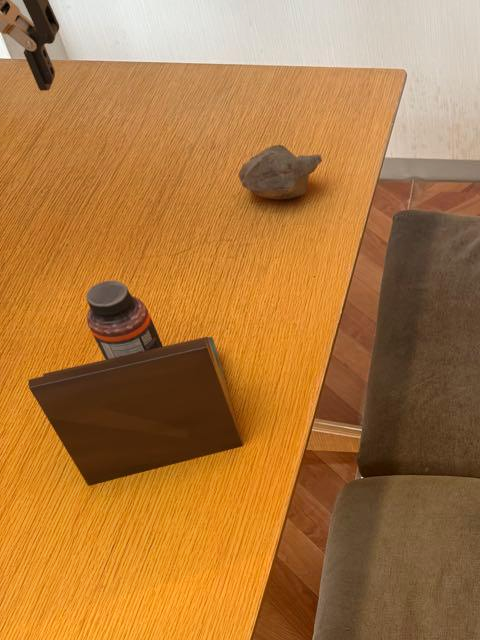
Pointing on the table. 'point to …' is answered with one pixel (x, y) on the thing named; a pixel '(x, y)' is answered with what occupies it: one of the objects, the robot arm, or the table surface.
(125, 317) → the supplement bottle
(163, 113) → the table surface
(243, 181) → the fossil
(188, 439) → the brown wooden box
